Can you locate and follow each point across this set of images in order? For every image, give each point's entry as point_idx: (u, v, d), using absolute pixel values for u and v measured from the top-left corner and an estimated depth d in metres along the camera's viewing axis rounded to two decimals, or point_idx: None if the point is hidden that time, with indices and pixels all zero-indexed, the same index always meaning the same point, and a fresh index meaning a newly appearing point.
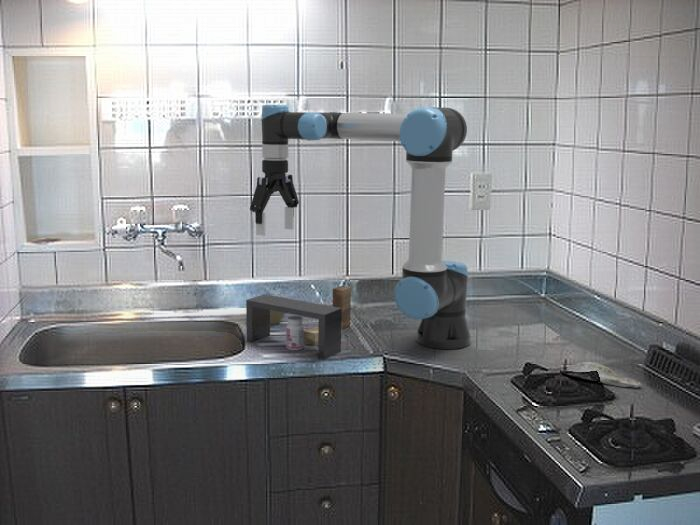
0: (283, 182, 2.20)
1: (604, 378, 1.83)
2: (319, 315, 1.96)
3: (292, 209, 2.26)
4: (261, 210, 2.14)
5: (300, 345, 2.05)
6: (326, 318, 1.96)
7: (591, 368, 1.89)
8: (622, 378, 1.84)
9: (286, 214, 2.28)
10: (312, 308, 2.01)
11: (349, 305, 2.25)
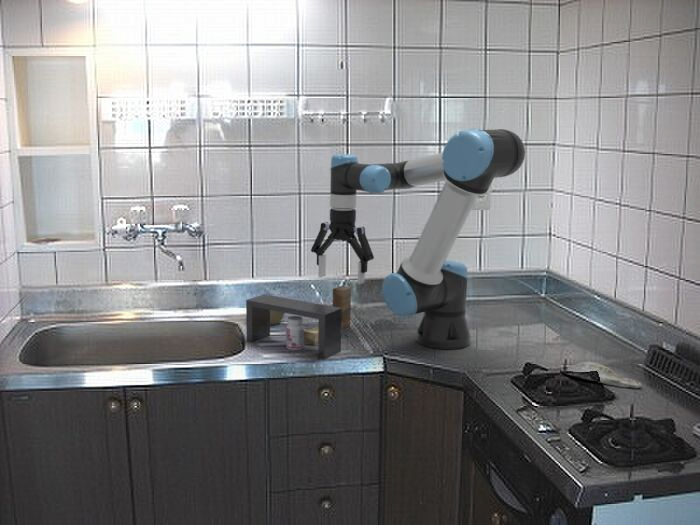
0: (342, 232, 2.18)
1: (604, 378, 1.83)
2: (319, 315, 1.96)
3: (359, 263, 2.18)
4: (316, 252, 2.25)
5: (300, 345, 2.05)
6: (326, 318, 1.96)
7: (592, 368, 1.88)
8: (623, 378, 1.84)
9: None
10: (312, 308, 2.01)
11: (349, 305, 2.25)
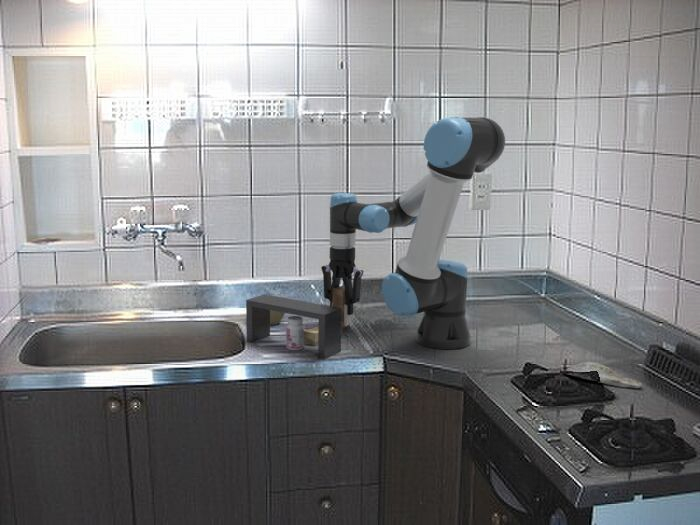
0: (342, 270, 2.20)
1: (605, 378, 1.83)
2: (319, 315, 1.96)
3: (345, 306, 2.23)
4: (330, 299, 2.25)
5: (300, 345, 2.05)
6: (326, 318, 1.96)
7: (592, 368, 1.88)
8: (623, 378, 1.84)
9: None
10: (312, 308, 2.01)
11: None
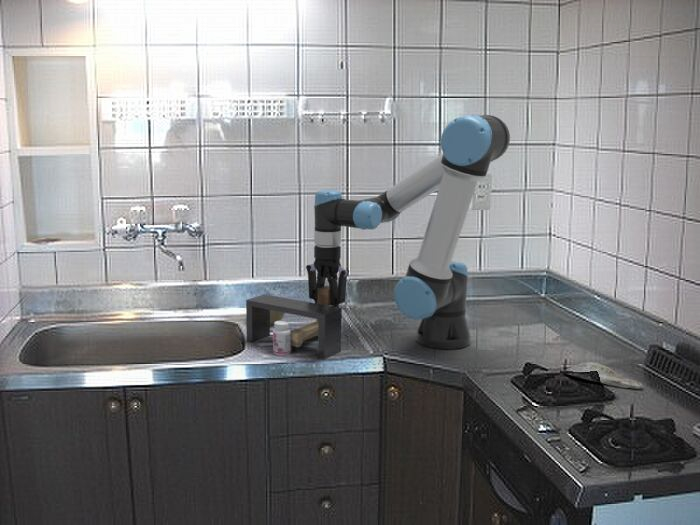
0: (327, 270, 2.13)
1: (605, 379, 1.83)
2: (319, 315, 1.96)
3: None
4: (314, 299, 2.18)
5: (286, 350, 2.00)
6: (326, 318, 1.96)
7: (593, 369, 1.88)
8: (624, 379, 1.83)
9: None
10: (312, 308, 2.01)
11: None
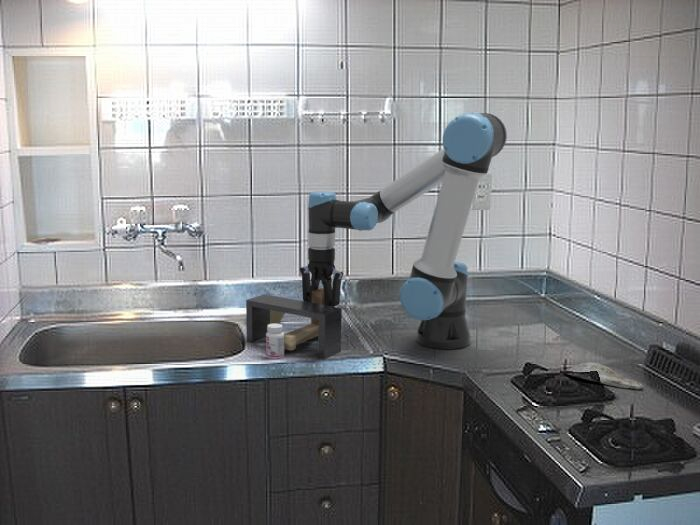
0: (321, 272, 2.11)
1: (605, 379, 1.83)
2: (319, 315, 1.96)
3: None
4: None
5: (279, 354, 1.97)
6: (326, 318, 1.96)
7: (593, 369, 1.88)
8: (624, 379, 1.83)
9: None
10: (312, 308, 2.01)
11: None
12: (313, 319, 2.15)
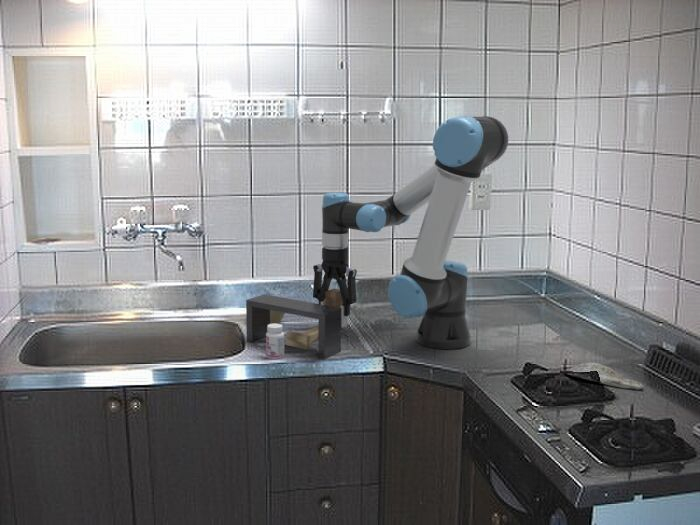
0: (334, 271, 2.17)
1: (606, 379, 1.82)
2: (319, 315, 1.96)
3: (341, 307, 2.18)
4: (318, 298, 2.22)
5: (279, 354, 1.97)
6: (326, 318, 1.96)
7: (594, 369, 1.88)
8: (624, 379, 1.83)
9: None
10: (312, 308, 2.01)
11: None
12: None
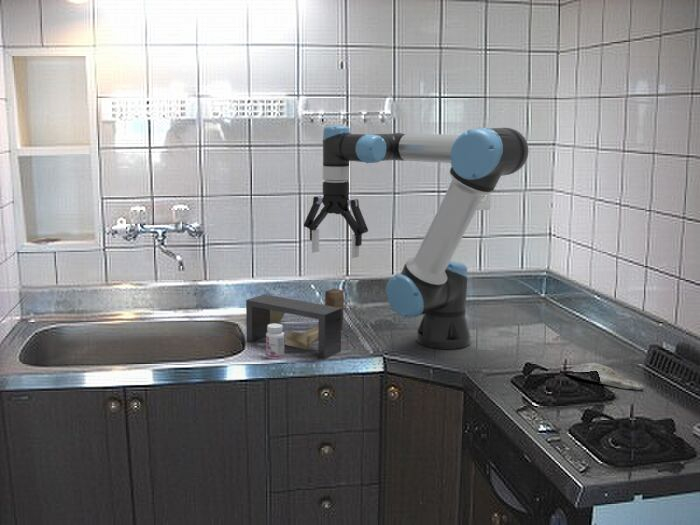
0: (336, 205, 2.14)
1: (606, 379, 1.82)
2: (319, 315, 1.96)
3: (353, 236, 2.14)
4: (309, 227, 2.21)
5: (279, 354, 1.97)
6: (326, 318, 1.96)
7: (594, 369, 1.88)
8: (625, 380, 1.83)
9: None
10: (312, 308, 2.01)
11: (342, 308, 2.22)
12: None
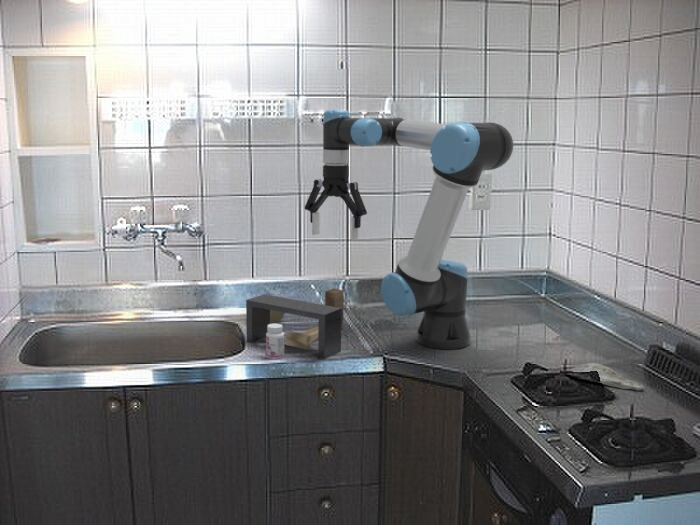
0: (335, 188, 2.19)
1: (606, 380, 1.82)
2: (319, 315, 1.96)
3: (352, 218, 2.19)
4: (310, 210, 2.26)
5: (279, 354, 1.97)
6: (326, 318, 1.96)
7: (595, 369, 1.88)
8: (625, 380, 1.82)
9: None
10: (312, 308, 2.01)
11: (342, 308, 2.22)
12: None
